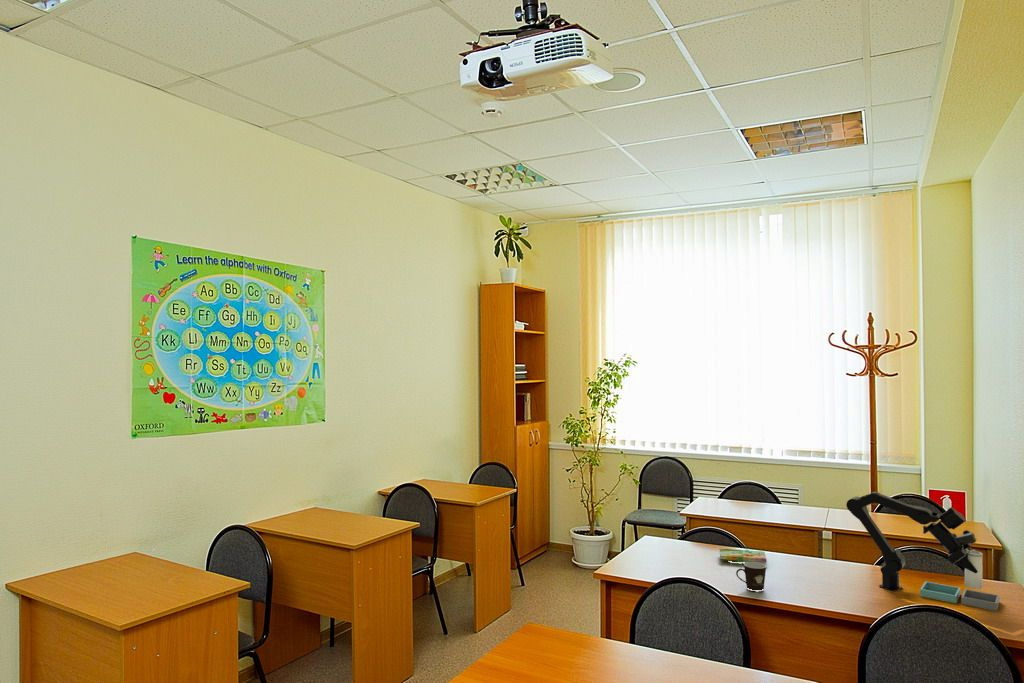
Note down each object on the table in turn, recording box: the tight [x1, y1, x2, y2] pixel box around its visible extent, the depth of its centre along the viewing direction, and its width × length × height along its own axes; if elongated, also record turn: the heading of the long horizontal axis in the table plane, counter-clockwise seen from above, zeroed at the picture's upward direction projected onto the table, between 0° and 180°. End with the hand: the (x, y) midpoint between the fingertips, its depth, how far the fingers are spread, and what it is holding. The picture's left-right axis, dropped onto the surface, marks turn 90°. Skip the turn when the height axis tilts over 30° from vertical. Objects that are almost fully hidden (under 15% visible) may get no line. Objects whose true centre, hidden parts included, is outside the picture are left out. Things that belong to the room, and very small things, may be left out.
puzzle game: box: [719, 548, 768, 565], centre depth 316 cm, size 12×5×20 cm
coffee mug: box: [735, 562, 767, 590], centre depth 278 cm, size 12×9×10 cm
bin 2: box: [960, 588, 1001, 612], centre depth 260 cm, size 11×11×4 cm
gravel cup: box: [964, 549, 984, 590], centre depth 262 cm, size 6×6×14 cm
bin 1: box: [919, 581, 962, 604], centre depth 268 cm, size 12×12×4 cm
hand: (977, 570), depth 261 cm, fingers closed on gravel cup, 6 cm apart
